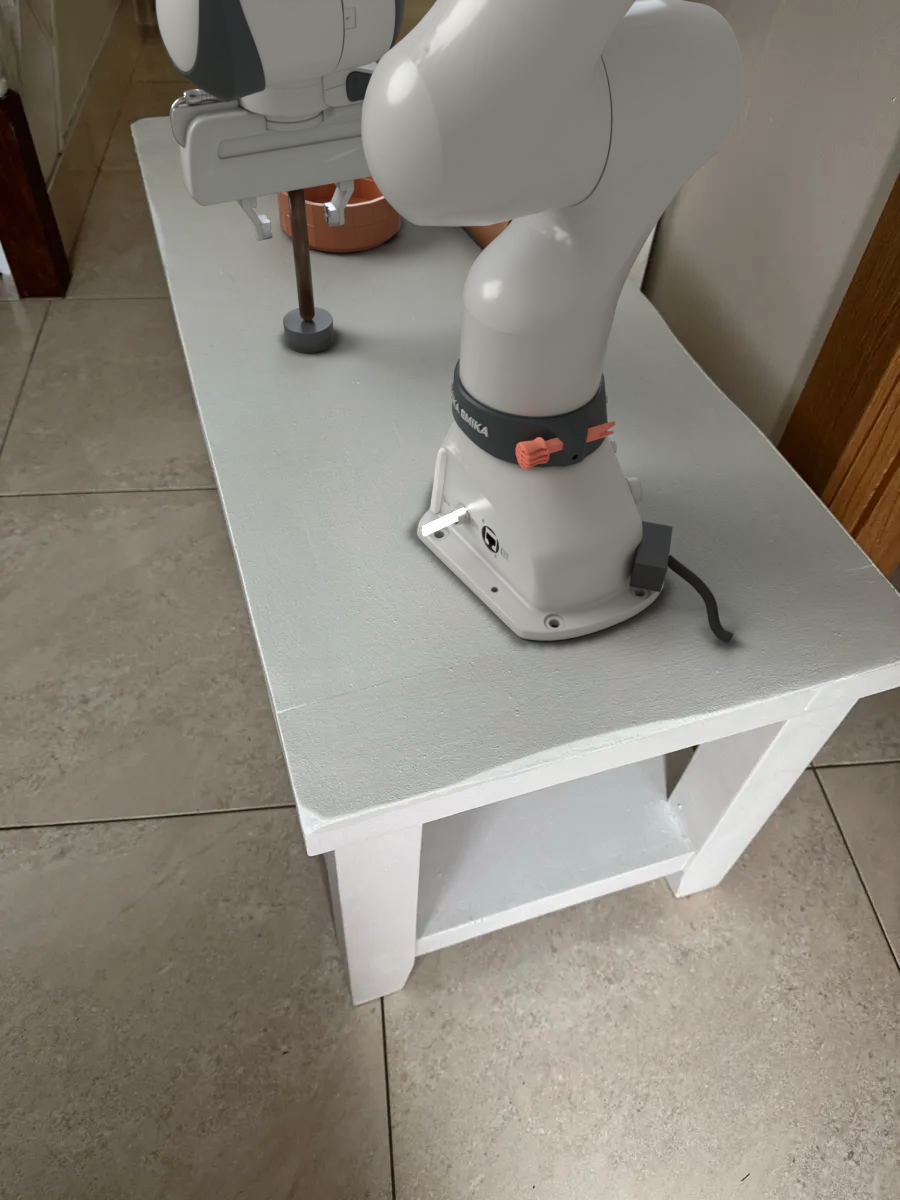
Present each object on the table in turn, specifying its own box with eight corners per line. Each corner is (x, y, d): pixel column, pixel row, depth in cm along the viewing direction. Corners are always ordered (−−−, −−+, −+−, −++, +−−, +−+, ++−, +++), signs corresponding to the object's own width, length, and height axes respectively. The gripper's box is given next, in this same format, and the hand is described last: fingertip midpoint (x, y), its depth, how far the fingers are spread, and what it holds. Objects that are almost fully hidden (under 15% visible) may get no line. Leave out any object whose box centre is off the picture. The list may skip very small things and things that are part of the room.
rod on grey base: (341, 346, 99) (330, 181, 86) (294, 357, 98) (276, 191, 84) (324, 322, 102) (310, 159, 89) (278, 332, 101) (258, 167, 88)
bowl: (422, 241, 115) (422, 193, 110) (305, 265, 110) (301, 216, 106) (374, 189, 124) (373, 143, 119) (265, 209, 119) (259, 162, 115)
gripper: (175, 107, 75) (203, 266, 86) (405, 74, 82) (406, 225, 92) (155, 80, 79) (185, 235, 89) (377, 50, 85) (381, 198, 96)
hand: (299, 230), depth 91 cm, fingers open, 6 cm apart
